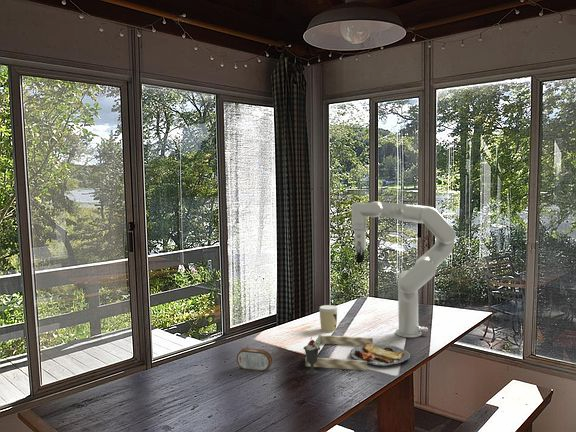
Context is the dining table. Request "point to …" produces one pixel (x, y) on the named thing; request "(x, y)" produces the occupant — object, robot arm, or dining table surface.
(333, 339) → the bay
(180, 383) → the dining table surface
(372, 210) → the robot arm
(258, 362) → the tin
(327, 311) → the coffee cup
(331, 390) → the dining table surface
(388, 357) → the food plate
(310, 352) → the sundae
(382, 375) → the dining table surface
